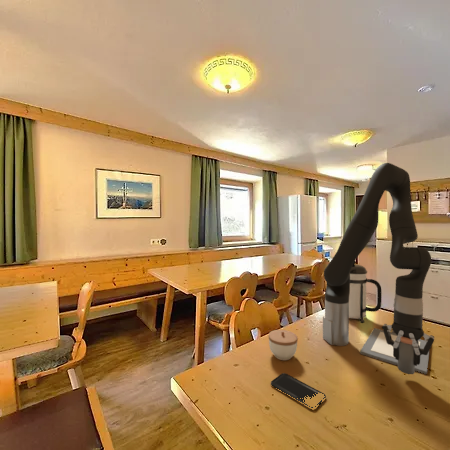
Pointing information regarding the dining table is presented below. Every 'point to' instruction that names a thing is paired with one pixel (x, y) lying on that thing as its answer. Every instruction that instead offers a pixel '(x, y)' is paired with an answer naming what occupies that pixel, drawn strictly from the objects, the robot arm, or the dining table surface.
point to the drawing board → (389, 350)
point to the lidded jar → (283, 344)
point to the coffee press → (360, 293)
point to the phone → (294, 387)
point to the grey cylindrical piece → (406, 356)
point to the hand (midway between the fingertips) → (406, 361)
